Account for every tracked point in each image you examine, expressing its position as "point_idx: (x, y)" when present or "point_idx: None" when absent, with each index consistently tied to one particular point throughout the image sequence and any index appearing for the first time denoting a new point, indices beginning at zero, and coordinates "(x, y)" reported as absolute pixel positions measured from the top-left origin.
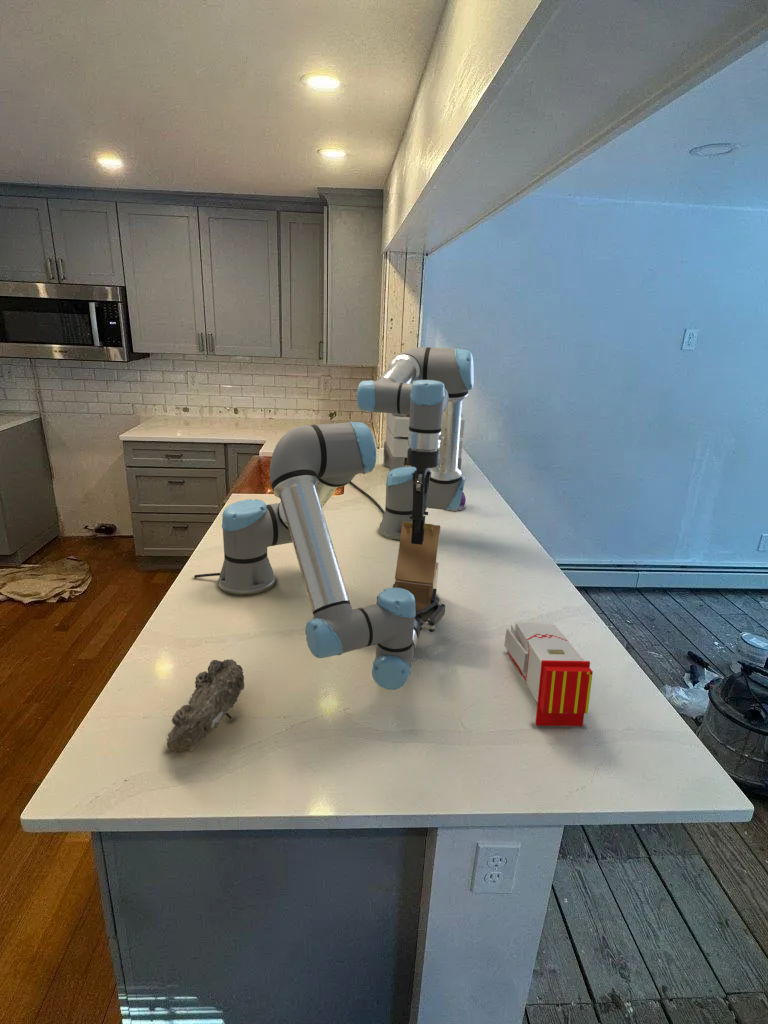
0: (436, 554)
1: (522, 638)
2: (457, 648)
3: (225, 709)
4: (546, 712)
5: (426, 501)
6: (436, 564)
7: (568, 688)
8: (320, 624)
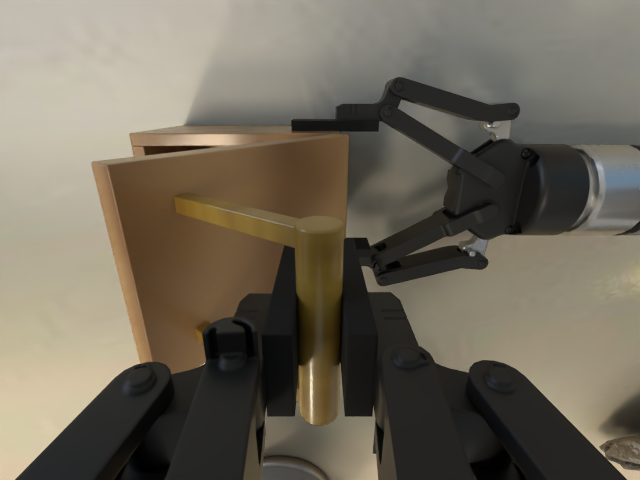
0: (270, 145)
1: None
2: (457, 33)
3: None
4: None
5: (95, 457)
6: (151, 140)
7: None
8: None
